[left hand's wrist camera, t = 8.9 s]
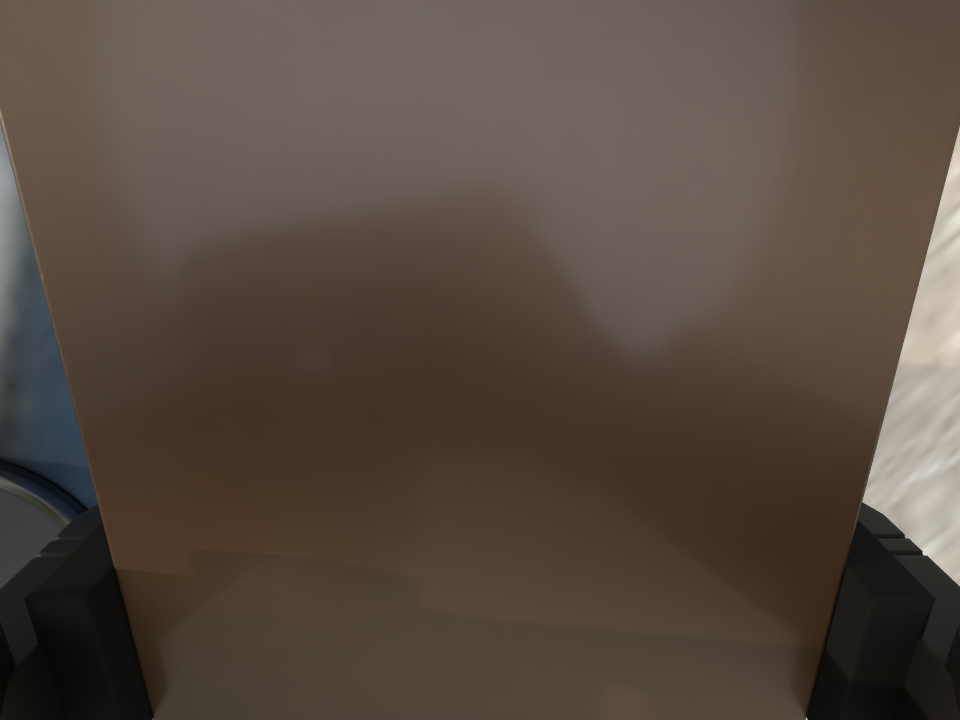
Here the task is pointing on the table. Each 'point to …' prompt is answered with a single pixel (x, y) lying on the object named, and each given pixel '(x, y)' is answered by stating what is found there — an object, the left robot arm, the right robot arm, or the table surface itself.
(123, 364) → the thick board
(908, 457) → the table surface
